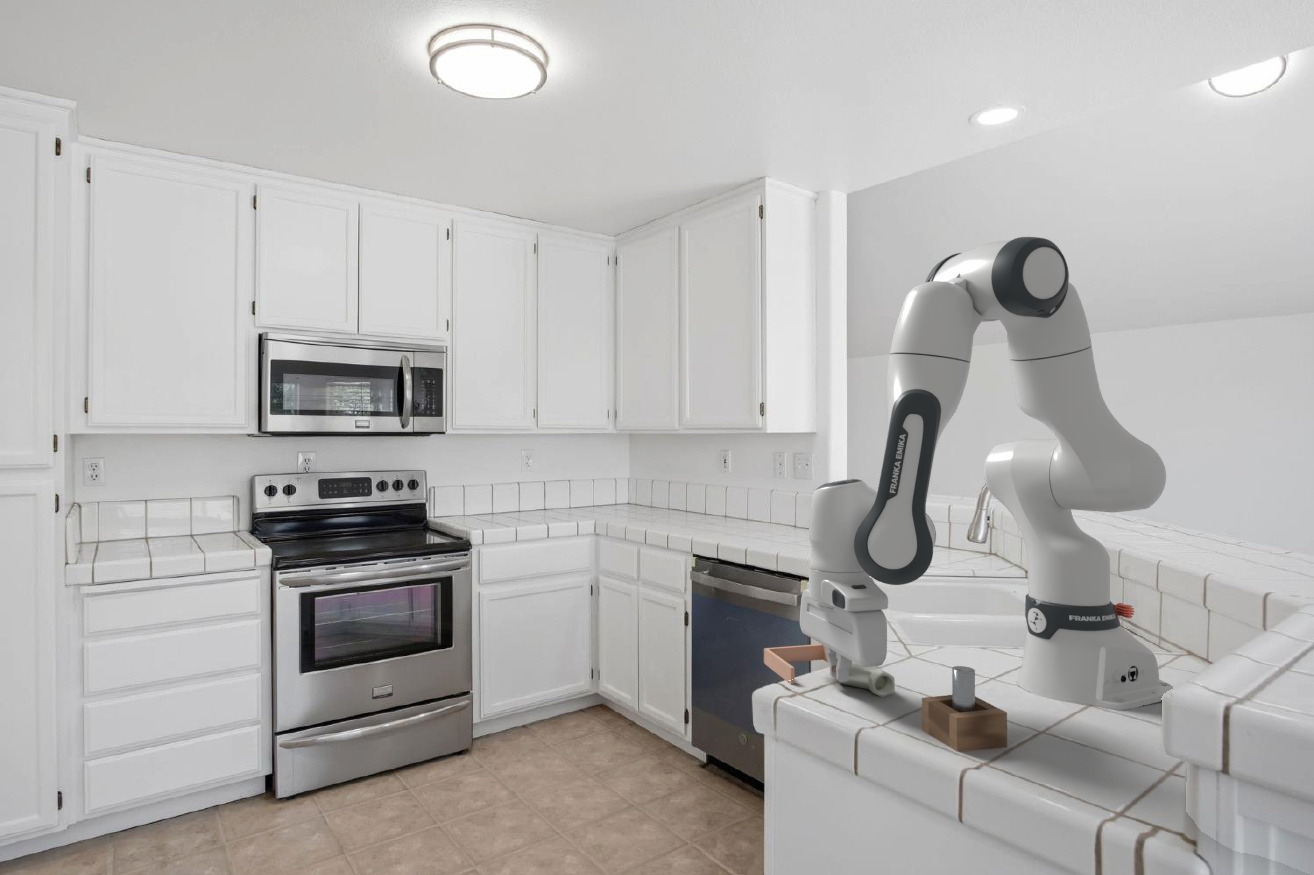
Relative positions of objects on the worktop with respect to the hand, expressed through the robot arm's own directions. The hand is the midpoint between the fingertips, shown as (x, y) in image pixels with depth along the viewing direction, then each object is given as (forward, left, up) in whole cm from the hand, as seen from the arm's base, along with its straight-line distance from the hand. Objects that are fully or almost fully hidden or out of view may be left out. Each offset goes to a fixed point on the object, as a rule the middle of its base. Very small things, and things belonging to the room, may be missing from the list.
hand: (839, 678), depth 109 cm
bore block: (-6, +21, -2) cm, 21 cm away
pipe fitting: (0, -1, 0) cm, 1 cm away
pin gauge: (-6, +21, -2) cm, 22 cm away
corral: (0, -9, -2) cm, 10 cm away
